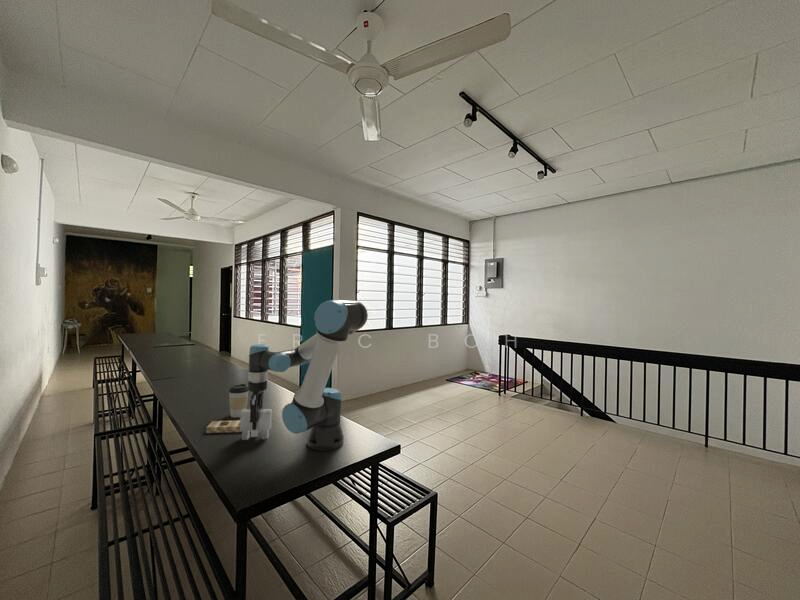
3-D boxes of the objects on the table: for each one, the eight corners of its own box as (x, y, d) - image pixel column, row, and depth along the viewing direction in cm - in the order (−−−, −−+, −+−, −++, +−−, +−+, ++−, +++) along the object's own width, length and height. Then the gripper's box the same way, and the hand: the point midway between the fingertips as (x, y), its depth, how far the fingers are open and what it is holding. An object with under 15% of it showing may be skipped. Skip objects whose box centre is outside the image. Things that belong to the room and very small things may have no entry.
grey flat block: (270, 435, 142) (272, 408, 141) (269, 439, 138) (270, 411, 138) (241, 436, 139) (242, 409, 139) (239, 440, 136) (240, 412, 136)
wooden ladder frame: (258, 425, 152) (258, 419, 152) (254, 431, 145) (254, 426, 145) (212, 426, 148) (212, 421, 148) (206, 432, 141) (206, 427, 141)
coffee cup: (239, 419, 157) (240, 389, 157) (223, 417, 159) (224, 387, 159) (251, 412, 166) (252, 384, 166) (236, 410, 168) (237, 382, 168)
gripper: (253, 375, 146) (251, 426, 146) (242, 386, 130) (240, 443, 130) (271, 375, 147) (268, 426, 148) (262, 386, 131) (260, 442, 132)
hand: (255, 434), depth 139 cm, fingers closed on grey flat block, 3 cm apart
